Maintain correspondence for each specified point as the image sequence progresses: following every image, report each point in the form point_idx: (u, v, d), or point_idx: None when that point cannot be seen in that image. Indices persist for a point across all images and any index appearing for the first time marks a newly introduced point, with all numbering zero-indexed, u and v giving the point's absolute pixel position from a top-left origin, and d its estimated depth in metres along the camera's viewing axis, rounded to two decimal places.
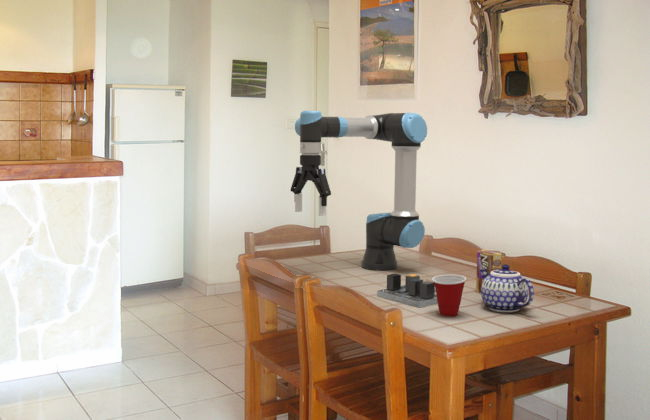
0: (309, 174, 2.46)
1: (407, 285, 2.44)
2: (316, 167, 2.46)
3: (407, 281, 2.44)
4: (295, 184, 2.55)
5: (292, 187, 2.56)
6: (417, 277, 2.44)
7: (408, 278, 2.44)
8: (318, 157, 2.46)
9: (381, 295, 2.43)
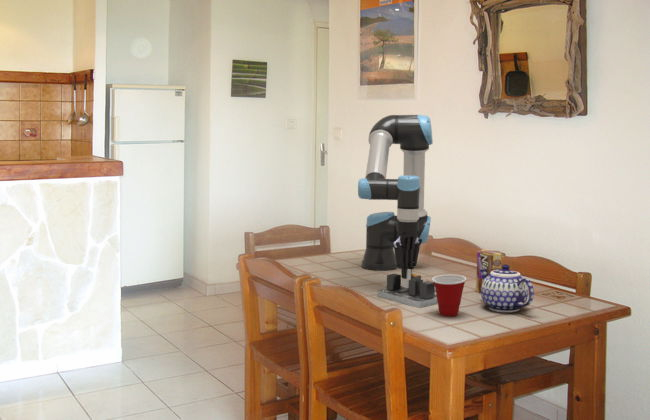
0: None
1: None
2: (399, 234, 2.39)
3: None
4: None
5: None
6: (418, 277, 2.45)
7: None
8: (401, 224, 2.38)
9: (381, 295, 2.43)
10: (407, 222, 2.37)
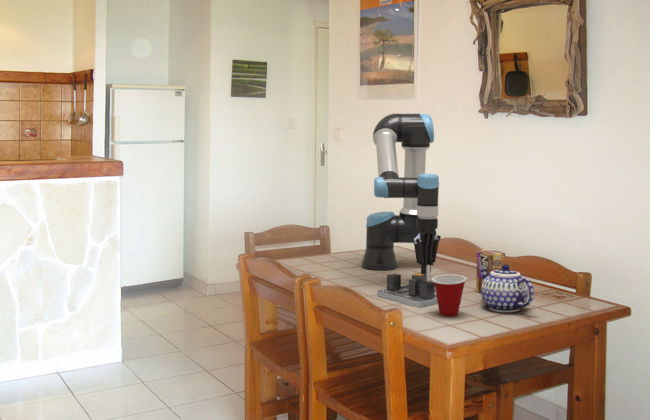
0: None
1: None
2: (419, 230, 2.45)
3: None
4: None
5: None
6: (423, 276, 2.46)
7: (414, 277, 2.46)
8: (421, 221, 2.44)
9: (381, 295, 2.43)
10: (427, 219, 2.44)
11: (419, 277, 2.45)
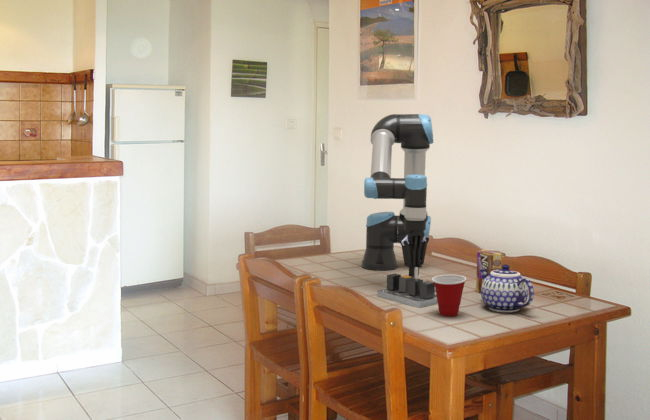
0: None
1: (401, 286, 2.42)
2: (406, 232, 2.41)
3: (401, 282, 2.42)
4: None
5: None
6: (411, 278, 2.42)
7: (402, 279, 2.42)
8: (409, 222, 2.40)
9: (381, 295, 2.43)
10: (414, 221, 2.40)
11: (407, 279, 2.41)
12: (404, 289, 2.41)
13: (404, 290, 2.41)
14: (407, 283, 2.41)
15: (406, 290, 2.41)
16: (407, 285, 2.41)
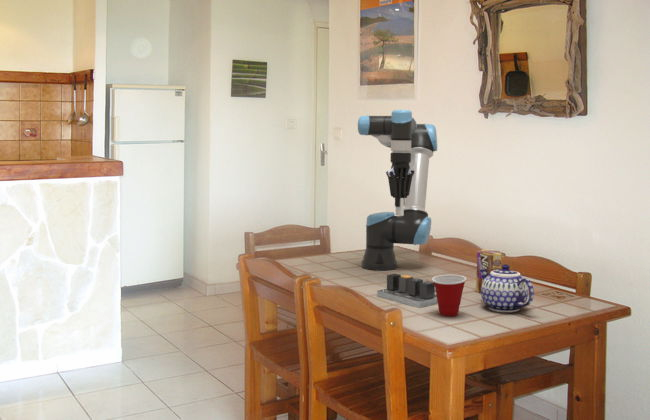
0: None
1: (401, 286, 2.42)
2: (393, 164, 2.55)
3: (401, 282, 2.42)
4: None
5: None
6: (411, 278, 2.42)
7: (402, 279, 2.42)
8: (395, 155, 2.54)
9: (381, 295, 2.43)
10: (400, 153, 2.54)
11: (407, 279, 2.41)
12: (404, 289, 2.41)
13: (404, 290, 2.41)
14: (407, 283, 2.41)
15: (406, 290, 2.41)
16: (407, 285, 2.41)
